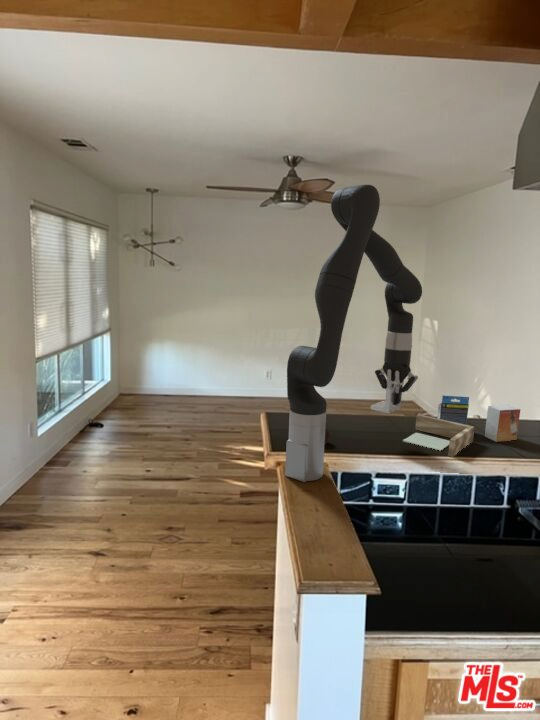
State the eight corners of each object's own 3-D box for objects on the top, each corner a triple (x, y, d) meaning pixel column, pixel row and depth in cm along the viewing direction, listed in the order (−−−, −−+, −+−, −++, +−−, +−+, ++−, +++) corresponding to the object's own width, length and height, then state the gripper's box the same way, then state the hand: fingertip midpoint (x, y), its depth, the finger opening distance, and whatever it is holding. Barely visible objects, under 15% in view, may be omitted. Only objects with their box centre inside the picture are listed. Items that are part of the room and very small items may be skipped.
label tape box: (462, 428, 171) (466, 393, 169) (465, 432, 167) (469, 396, 165) (435, 427, 172) (439, 392, 170) (438, 431, 168) (442, 395, 166)
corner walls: (452, 457, 146) (454, 440, 145) (393, 441, 157) (395, 426, 156) (472, 441, 159) (474, 426, 158) (417, 428, 170) (418, 414, 169)
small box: (495, 442, 159) (499, 410, 157) (483, 436, 164) (487, 405, 162) (517, 440, 161) (521, 409, 159) (504, 435, 166) (508, 404, 164)
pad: (440, 451, 150) (440, 450, 150) (402, 441, 157) (402, 440, 157) (452, 442, 157) (452, 441, 157) (416, 433, 165) (416, 432, 165)
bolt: (310, 433, 168) (323, 448, 153) (298, 426, 167) (309, 441, 152) (319, 418, 168) (333, 432, 153) (307, 411, 166) (319, 424, 152)
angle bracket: (388, 413, 149) (390, 388, 148) (370, 409, 153) (372, 385, 151) (400, 408, 155) (402, 384, 154) (382, 404, 159) (384, 381, 157)
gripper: (371, 345, 150) (367, 401, 153) (414, 351, 142) (409, 411, 145) (383, 343, 156) (378, 397, 159) (425, 348, 147) (420, 406, 151)
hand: (393, 403), depth 152 cm, fingers closed on angle bracket, 1 cm apart
